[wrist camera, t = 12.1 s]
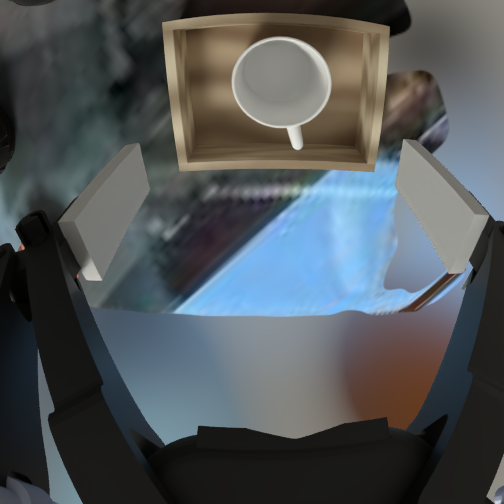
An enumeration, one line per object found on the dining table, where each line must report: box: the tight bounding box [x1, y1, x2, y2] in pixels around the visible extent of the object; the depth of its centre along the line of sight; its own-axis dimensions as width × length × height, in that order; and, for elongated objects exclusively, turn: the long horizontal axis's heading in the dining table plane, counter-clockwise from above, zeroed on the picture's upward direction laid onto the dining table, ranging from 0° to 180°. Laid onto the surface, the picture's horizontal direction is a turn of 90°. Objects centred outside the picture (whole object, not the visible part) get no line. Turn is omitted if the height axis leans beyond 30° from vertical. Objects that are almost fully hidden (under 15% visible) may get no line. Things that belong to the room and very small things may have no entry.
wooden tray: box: [162, 13, 390, 172], centre depth 29 cm, size 17×22×6 cm
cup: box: [232, 36, 332, 150], centre depth 27 cm, size 8×12×10 cm
